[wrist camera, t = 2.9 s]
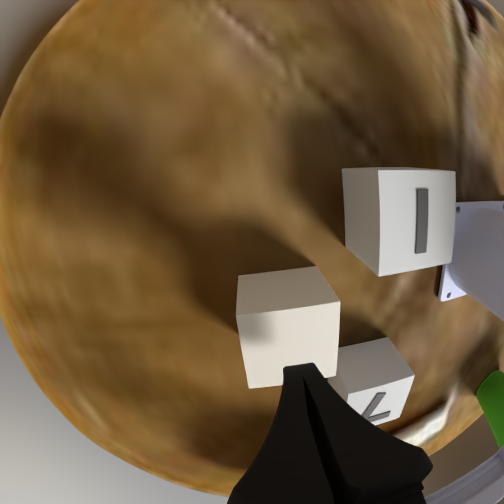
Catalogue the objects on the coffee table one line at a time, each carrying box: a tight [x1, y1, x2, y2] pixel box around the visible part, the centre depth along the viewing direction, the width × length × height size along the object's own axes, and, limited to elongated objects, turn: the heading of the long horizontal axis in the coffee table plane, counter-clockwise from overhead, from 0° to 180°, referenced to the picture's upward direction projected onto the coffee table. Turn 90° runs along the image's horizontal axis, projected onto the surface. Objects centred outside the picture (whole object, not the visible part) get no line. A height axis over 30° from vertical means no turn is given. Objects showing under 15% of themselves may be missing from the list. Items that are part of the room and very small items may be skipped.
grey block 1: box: [342, 167, 456, 276], centre depth 14 cm, size 5×5×5 cm
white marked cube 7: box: [328, 337, 415, 425], centre depth 17 cm, size 5×5×5 cm
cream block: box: [236, 266, 340, 388], centre depth 16 cm, size 5×5×5 cm
